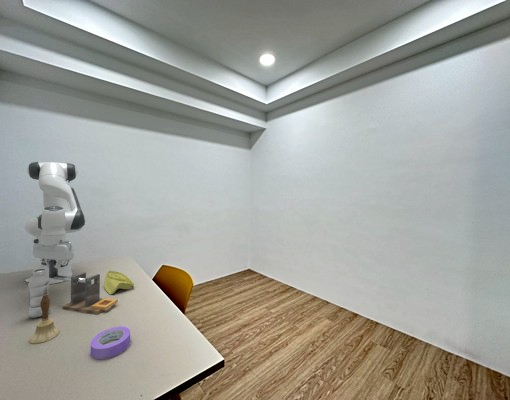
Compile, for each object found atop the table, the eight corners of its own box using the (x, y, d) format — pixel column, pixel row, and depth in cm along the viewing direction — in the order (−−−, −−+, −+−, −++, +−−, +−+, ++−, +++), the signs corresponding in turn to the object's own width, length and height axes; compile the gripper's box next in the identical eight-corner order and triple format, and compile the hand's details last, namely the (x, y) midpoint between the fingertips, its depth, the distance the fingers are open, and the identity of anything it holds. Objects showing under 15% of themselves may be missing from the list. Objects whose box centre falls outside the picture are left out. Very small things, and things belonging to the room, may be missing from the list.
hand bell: (65, 331, 83) (65, 291, 83) (40, 345, 75) (40, 301, 75) (49, 327, 85) (49, 288, 85) (22, 341, 77) (22, 298, 76)
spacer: (92, 305, 97) (106, 307, 96) (104, 298, 104) (117, 299, 103) (92, 308, 97) (106, 309, 96) (104, 300, 104) (117, 301, 103)
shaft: (47, 279, 104) (47, 261, 103) (54, 277, 107) (54, 259, 106) (86, 284, 100) (86, 265, 99) (92, 282, 103) (92, 263, 102)
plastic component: (135, 284, 121) (118, 282, 114) (128, 297, 119) (110, 295, 112) (123, 272, 134) (106, 269, 127) (116, 284, 132) (99, 282, 125)
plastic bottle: (53, 313, 95) (53, 268, 94) (33, 321, 89) (33, 274, 88) (44, 310, 97) (44, 266, 96) (24, 318, 91) (24, 271, 90)
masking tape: (85, 363, 68) (85, 352, 68) (96, 340, 79) (96, 330, 79) (127, 354, 73) (127, 343, 73) (132, 333, 84) (132, 323, 84)
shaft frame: (62, 309, 98) (62, 278, 98) (83, 298, 108) (83, 270, 108) (97, 314, 95) (97, 282, 94) (115, 303, 105) (116, 274, 104)
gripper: (77, 240, 106) (77, 267, 106) (44, 237, 109) (44, 263, 110) (64, 242, 99) (64, 272, 100) (29, 239, 103) (29, 267, 104)
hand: (53, 267), depth 105 cm, fingers closed on shaft, 3 cm apart
